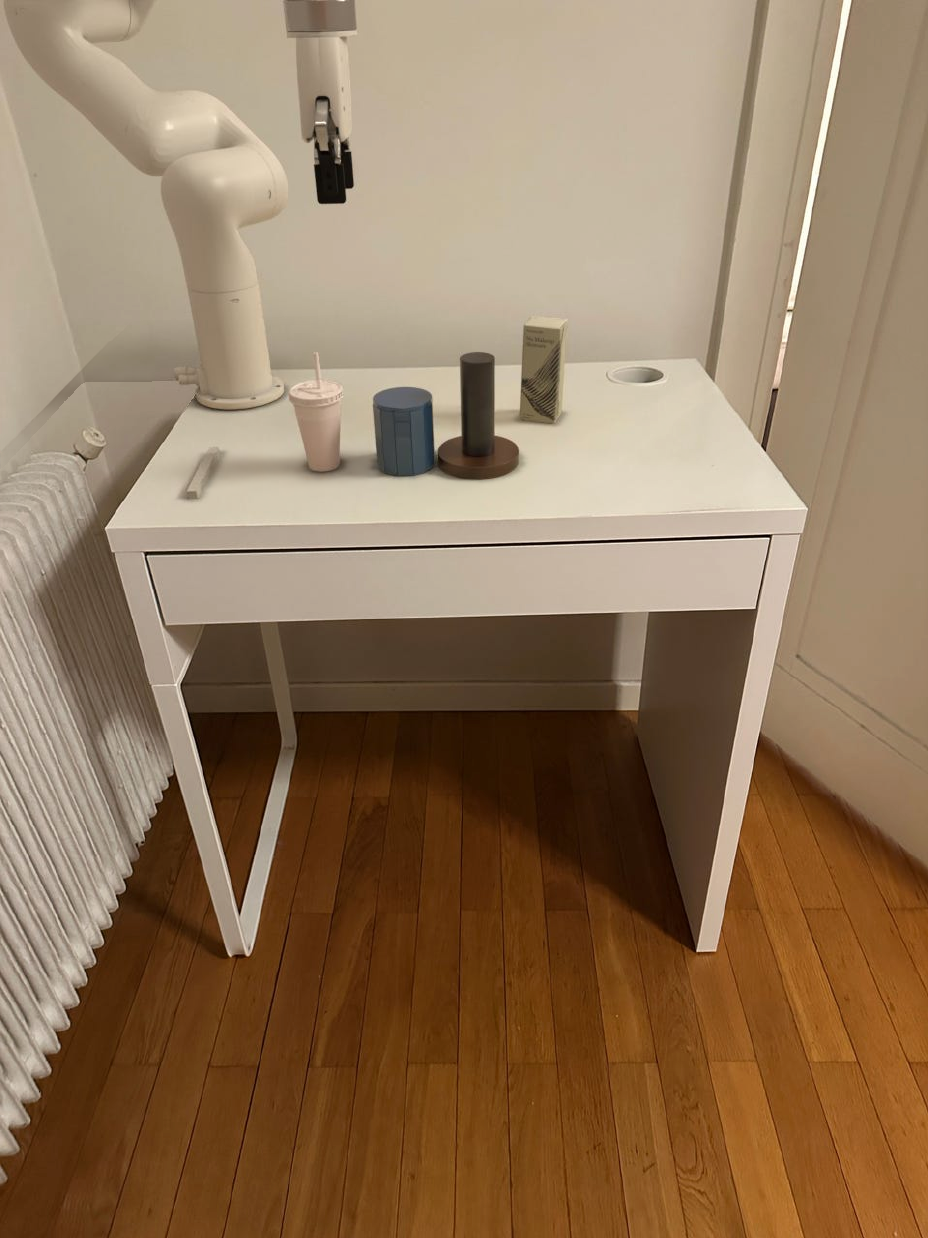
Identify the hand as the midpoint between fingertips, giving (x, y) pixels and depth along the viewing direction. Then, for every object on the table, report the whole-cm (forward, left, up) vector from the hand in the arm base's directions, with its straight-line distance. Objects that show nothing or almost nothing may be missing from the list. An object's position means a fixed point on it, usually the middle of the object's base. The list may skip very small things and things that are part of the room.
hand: (336, 195), depth 106 cm
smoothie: (-3, -13, -28) cm, 31 cm away
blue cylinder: (+7, -13, -28) cm, 32 cm away
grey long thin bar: (-17, -15, -29) cm, 37 cm away
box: (+25, +1, -28) cm, 38 cm away
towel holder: (+16, -13, -28) cm, 35 cm away
